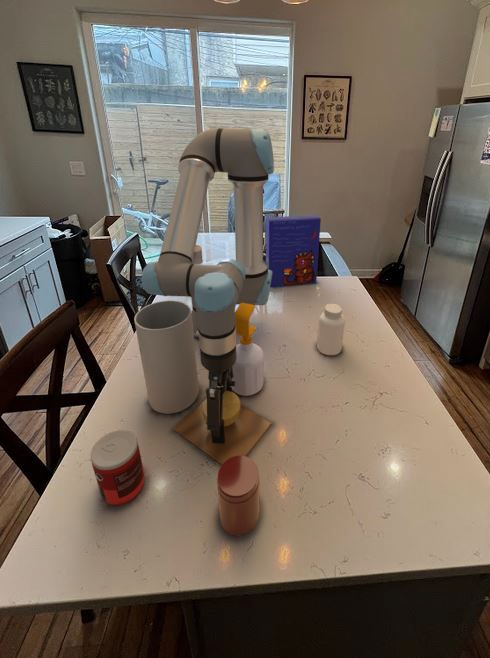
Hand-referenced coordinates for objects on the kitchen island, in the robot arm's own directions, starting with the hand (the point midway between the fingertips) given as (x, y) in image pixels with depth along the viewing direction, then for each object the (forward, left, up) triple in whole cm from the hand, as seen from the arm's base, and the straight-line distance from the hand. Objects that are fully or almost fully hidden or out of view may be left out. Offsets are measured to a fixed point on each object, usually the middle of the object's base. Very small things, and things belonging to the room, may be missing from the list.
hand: (223, 424), depth 77 cm
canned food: (-7, -21, -1) cm, 22 cm away
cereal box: (-26, +73, -1) cm, 77 cm away
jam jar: (+15, -12, -1) cm, 19 cm away
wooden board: (0, 0, -1) cm, 1 cm away
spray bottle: (-4, +14, -1) cm, 14 cm away
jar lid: (0, 0, +6) cm, 6 cm away
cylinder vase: (-17, 0, -1) cm, 17 cm away
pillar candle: (-66, +52, -1) cm, 84 cm away
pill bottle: (+8, +41, -1) cm, 42 cm away
